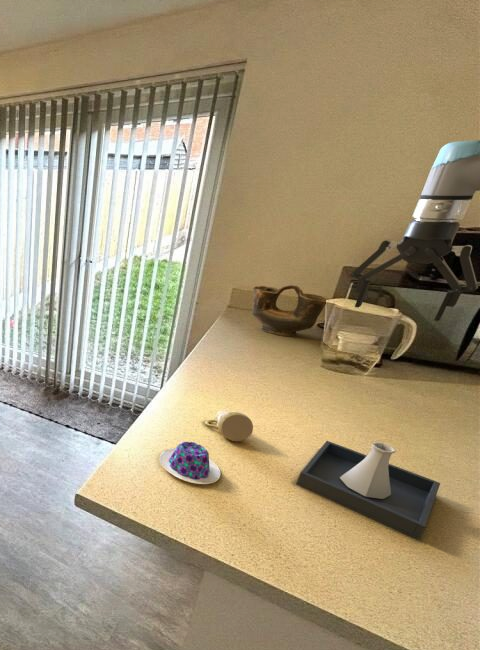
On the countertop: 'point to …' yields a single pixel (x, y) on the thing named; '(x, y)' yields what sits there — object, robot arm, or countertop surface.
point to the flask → (371, 473)
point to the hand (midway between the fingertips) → (395, 312)
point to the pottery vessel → (286, 320)
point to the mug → (232, 425)
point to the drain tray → (393, 511)
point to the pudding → (190, 463)
